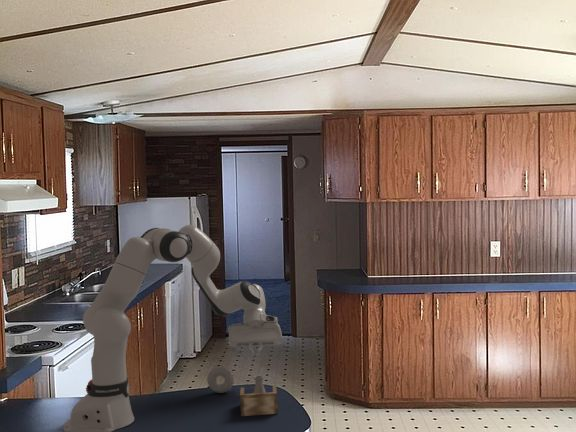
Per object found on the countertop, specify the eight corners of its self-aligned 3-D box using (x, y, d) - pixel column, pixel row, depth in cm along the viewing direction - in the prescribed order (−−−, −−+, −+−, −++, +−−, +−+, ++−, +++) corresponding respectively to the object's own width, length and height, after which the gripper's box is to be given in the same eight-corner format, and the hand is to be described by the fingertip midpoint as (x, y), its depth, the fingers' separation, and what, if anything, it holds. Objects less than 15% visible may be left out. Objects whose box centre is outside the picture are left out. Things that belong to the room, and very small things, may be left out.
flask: (267, 409, 215) (265, 380, 214) (247, 408, 216) (245, 379, 216) (272, 401, 222) (271, 373, 221) (253, 400, 223) (252, 373, 223)
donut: (207, 394, 232) (205, 368, 232) (208, 391, 236) (207, 365, 235) (233, 394, 232) (232, 367, 231) (235, 391, 235) (233, 364, 234)
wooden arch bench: (240, 416, 209) (239, 395, 209) (241, 404, 220) (240, 384, 220) (278, 413, 210) (277, 393, 209) (276, 402, 221) (275, 382, 220)
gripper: (227, 319, 238) (227, 351, 229) (281, 317, 240) (283, 349, 230) (228, 328, 243) (228, 360, 234) (280, 326, 244) (282, 357, 235)
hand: (255, 354), depth 232 cm, fingers closed
